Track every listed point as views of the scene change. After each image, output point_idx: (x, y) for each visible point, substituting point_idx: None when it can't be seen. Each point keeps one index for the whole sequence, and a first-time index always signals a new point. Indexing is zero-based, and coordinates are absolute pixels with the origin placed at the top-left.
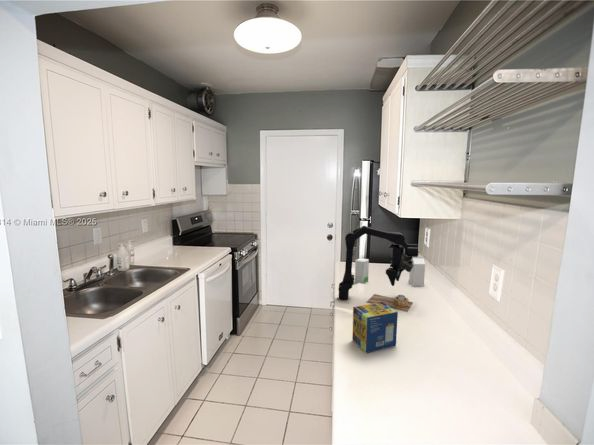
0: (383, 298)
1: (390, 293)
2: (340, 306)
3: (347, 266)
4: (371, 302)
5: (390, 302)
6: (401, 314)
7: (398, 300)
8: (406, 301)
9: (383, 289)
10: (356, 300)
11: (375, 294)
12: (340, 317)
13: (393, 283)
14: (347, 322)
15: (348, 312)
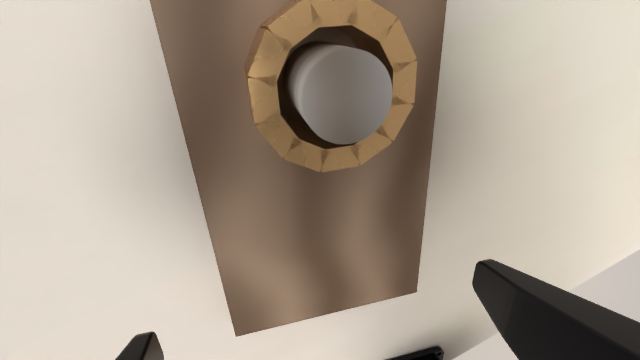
0: (275, 253)
1: (47, 278)
2: (482, 340)
3: None
4: (400, 271)
5: (322, 176)
6: (448, 17)
7: (406, 98)
8: (377, 5)
9: (11, 356)
10: (372, 341)
11: (237, 327)
12: (590, 276)
13: (544, 294)
14: (631, 230)
15: None
